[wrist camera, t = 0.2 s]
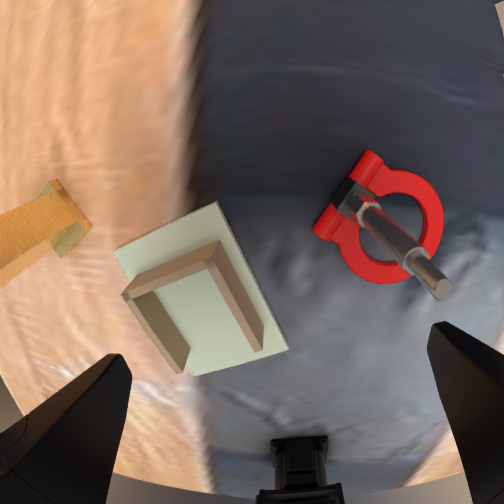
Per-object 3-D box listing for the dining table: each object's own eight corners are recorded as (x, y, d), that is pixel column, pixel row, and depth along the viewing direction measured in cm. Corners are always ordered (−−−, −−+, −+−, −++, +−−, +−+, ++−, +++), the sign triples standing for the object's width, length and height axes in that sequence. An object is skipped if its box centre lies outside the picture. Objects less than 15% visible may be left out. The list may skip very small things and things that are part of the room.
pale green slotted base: (288, 345, 25) (290, 374, 22) (194, 371, 27) (186, 400, 24) (217, 200, 21) (206, 214, 18) (115, 249, 23) (93, 268, 20)
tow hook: (454, 211, 21) (370, 136, 19) (570, 293, 9) (501, 170, 7) (392, 293, 24) (301, 236, 22) (464, 416, 12) (344, 371, 10)
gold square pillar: (92, 226, 22) (-19, 306, 11) (67, 254, 23) (-32, 335, 12) (56, 179, 21) (-66, 230, 9) (34, 210, 22) (-74, 270, 10)
